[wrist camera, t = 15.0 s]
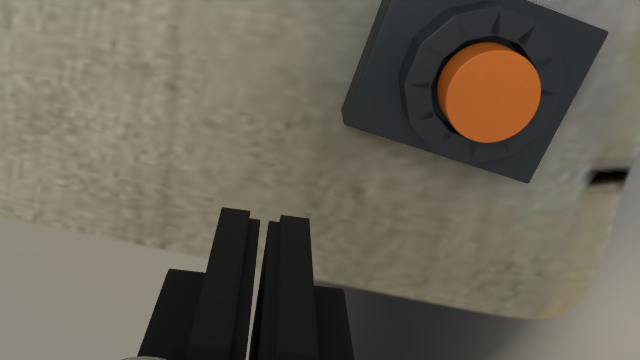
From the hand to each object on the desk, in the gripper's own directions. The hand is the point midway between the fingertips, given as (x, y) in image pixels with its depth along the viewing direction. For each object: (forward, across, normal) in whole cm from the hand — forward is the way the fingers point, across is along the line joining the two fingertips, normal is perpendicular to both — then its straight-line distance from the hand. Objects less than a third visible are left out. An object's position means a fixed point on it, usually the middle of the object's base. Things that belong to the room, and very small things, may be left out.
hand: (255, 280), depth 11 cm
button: (+15, -9, -1) cm, 18 cm away
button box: (+19, -9, -1) cm, 21 cm away
